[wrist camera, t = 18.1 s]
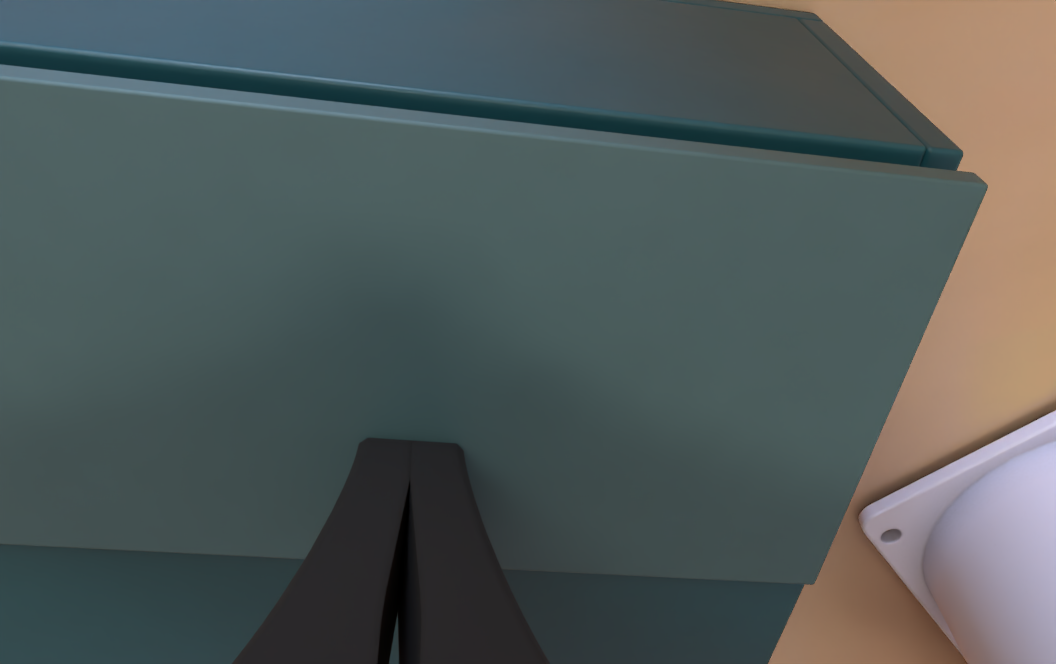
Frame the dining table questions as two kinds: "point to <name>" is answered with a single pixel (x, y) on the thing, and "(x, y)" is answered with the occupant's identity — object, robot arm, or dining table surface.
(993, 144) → the dining table surface
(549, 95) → the teal box
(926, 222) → the cool box flap
